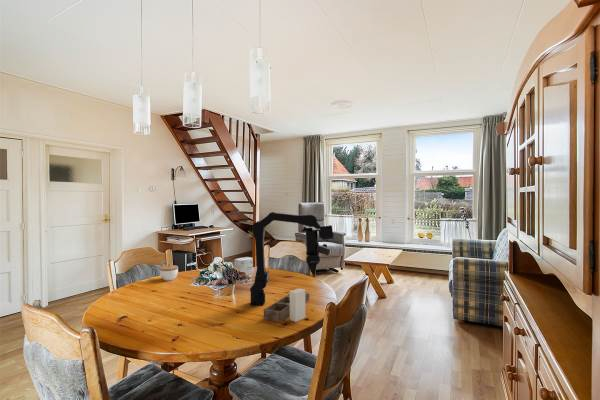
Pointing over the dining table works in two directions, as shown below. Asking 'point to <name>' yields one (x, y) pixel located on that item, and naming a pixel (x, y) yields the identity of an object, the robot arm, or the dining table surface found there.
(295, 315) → the white rectangular block
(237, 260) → the light bulb box
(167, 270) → the white round bowl
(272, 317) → the tray
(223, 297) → the dining table surface
